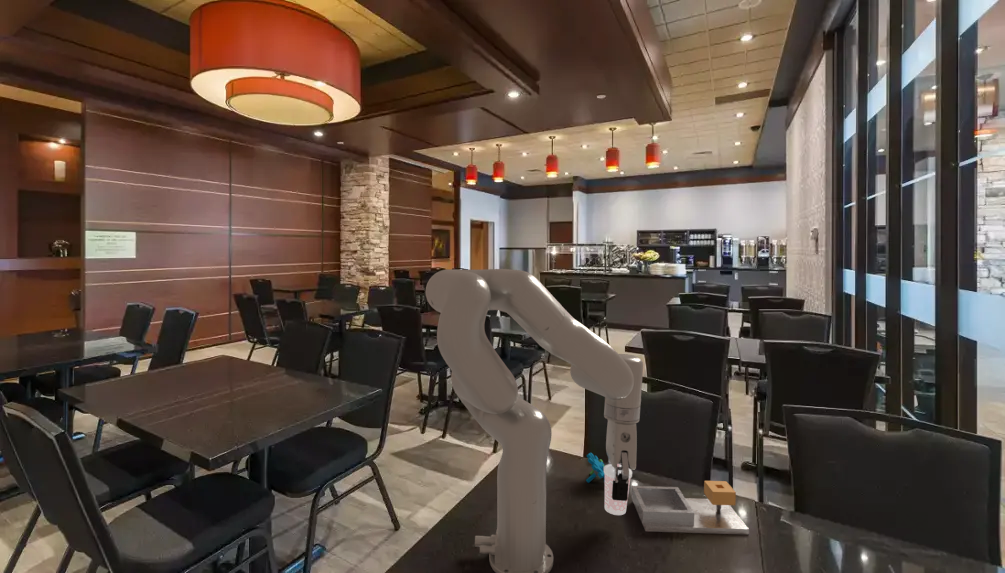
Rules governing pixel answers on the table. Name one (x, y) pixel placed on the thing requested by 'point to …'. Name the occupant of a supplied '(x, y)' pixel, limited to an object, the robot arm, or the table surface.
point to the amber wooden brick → (719, 493)
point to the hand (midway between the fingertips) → (616, 491)
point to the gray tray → (683, 512)
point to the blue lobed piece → (595, 467)
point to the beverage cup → (611, 505)
